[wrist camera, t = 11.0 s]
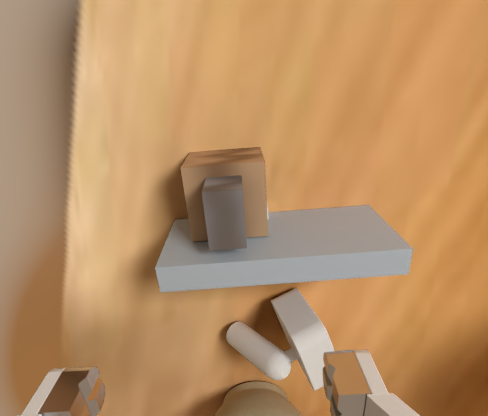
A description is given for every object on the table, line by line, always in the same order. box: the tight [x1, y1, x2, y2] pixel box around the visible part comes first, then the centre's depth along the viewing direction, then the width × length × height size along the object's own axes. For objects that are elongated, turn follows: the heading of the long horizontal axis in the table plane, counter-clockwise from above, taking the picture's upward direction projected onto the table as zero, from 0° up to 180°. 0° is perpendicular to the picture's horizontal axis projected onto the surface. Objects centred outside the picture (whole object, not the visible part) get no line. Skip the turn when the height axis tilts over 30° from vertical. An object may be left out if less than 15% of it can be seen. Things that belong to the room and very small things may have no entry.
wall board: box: [155, 204, 413, 292], centre depth 29 cm, size 21×4×9 cm, turn 94°
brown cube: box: [180, 147, 268, 251], centre depth 28 cm, size 7×7×9 cm
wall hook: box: [226, 288, 334, 391], centre depth 35 cm, size 8×10×10 cm
